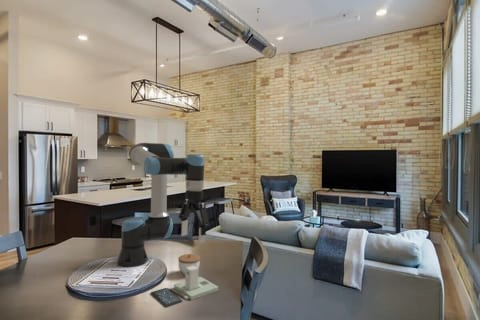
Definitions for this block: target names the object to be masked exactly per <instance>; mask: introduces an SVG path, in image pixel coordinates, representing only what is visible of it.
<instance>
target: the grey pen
mask: <svg viewBox="0 0 480 320" xmlns="http://www.w3.org/2000/svg"><path fill="white" fill-rule="evenodd" d="M166 288H167V289H168V290H170V291H171V292H172V293H174V294H175V295H178V296H180V297H182V298H184V299H185V300H188V299H189V297H188V296H185V295H184V294H182V293H181V292H179V291H178V290H176V289H175V288H174V289H173V288H172V287H171V286H168V287H166ZM189 300H190V299H189Z"/></svg>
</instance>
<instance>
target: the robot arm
mask: <svg viewBox="0 0 480 320" xmlns="http://www.w3.org/2000/svg"><path fill="white" fill-rule="evenodd" d="M174 155H175V154H174V150H173V148H172V146H171V145H170V144H167V143H154V142H153V143H152V142H141V143H140V142H139V143H137V144H134V145H133V146H132V147H131V148H130V150H129V152H128V157H129V159H130V161H132V162H133V163H134V164H137V165H141V166H142V167H143V171H144V173H145V174H146V175H147V176H148V175H151V185H150V186H151V187H150V213H149V214H148V215H147V218H145V216H136V217H135V216H134V217H130V218H127V219H125V220H124V221H123V222H122V225H121V246H120V247H121V248H120V251H119V254H118V257H117V265H118V266H120V267H127V268H128V267H139V266H142V265H144V264H146V263H147V262H148V255H147V252H146V248H145V242H150V241H156V240H163V239H167V238H170V236H171V234H172V232H173V228H174V222H173V219H172V217H170V214H169V213H168V211H167V206H168V205H167V204H168V203H167V202H168V201H167V200H168V199H167V197H168V195H167V194H168V193H167V192H168V191H167V190H168V189H167V188H168V175H169V176H171V175H172V176H174V175H176V176H177V175H185V180H186V181H185V189H186V190H185V194H184V195H185V199H183V200H182V206H181V209H180V212H179V214H178V219H180V221H181V233H180V234H181V236H182V237H184V236H188V230H189V226H188V225H189V217H190V215H191V213H194V215H195V216H196V218H197V220H198V223H199V227H198V228H199V229H198V244H204V243H206V234H207V227H210V224H211V223H210V221H209V216H208V212H207V208H206V207H207V206H206V202H201V201H202V200H203V199H204V176H205V174H204V173H205V156H204V155H203V154H195V153H193V154H191V153H189V154H187V155H186V157H175V156H174Z"/></svg>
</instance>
